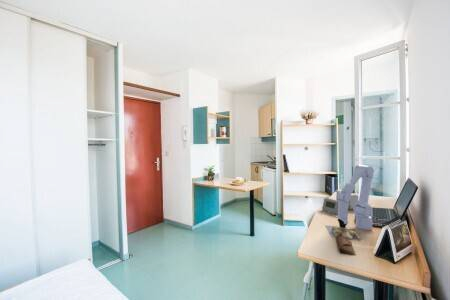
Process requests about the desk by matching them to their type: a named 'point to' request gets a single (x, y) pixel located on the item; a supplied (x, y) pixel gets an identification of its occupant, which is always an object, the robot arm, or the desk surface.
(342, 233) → the panel
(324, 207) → the digital clock
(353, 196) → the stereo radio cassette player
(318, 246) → the desk surface
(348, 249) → the sunglasses case
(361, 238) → the keyhole board
